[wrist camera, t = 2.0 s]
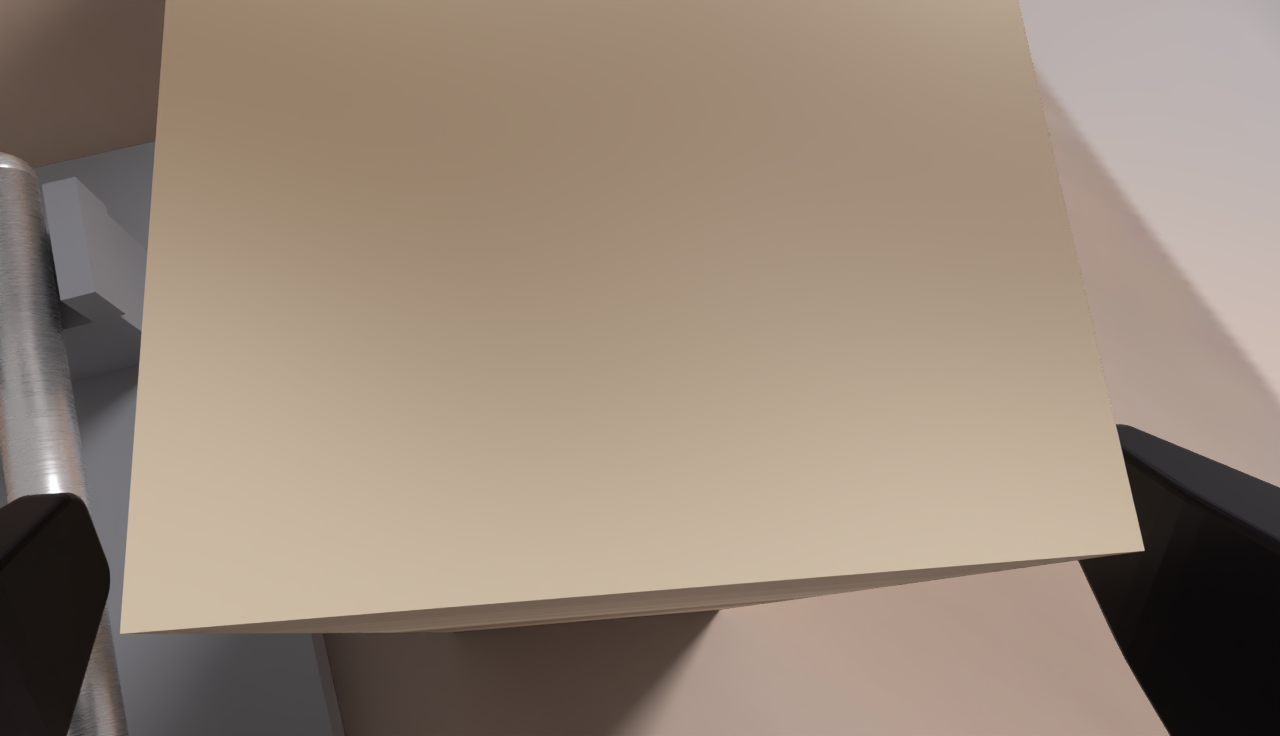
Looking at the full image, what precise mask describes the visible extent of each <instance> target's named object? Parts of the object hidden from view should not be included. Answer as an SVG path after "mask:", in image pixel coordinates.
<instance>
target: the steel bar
mask: <svg viewBox="0 0 1280 736" xmlns="http://www.w3.org/2000/svg"><path fill="white" fill-rule="evenodd" d="M0 450H1V457H2V465H3V472H4V479H5V486H6V493H7V500H8V503H10V502H12V501H13V500H15V499H17V498H19V497H22V496H26V495H34V494H50V493H66V492H69V493H73V494H75V495H77V496H79V497H80V498H81V499H82V500H83V501H84V503H85V505H86V507H87V508H88V511H89V514H90V516H91V519H92V522H93V524H94V519H93V513H92V507H91V501H90V495H89V489H88V483H87V476H86V470H85V464H84V458H83V452H82V446H81V440H80V433H79V427H78V421H77V415H76V409H75V403H74V397H73V390H72V384H71V378H70V372H69V366H68V360H67V354H66V347H65V341H64V335H63V329H62V323H61V317H60V311H59V304H58V298H57V292H56V286H55V280H54V274H53V268H52V261H51V255H50V249H49V243H48V237H47V231H46V224H45V218H44V212H43V206H42V200H41V194H40V188H39V182H38V179H37V176H36V174H35V172H34V170H33V169H32V168H31V167H30V166H29V165H28V164H27V163H26V162H25V161H24V160H22V159H21V158H19V157H17V156H15V155H12V154H9V153H5V152H0ZM94 527H95V526H94ZM67 736H129V735H128V728H127V722H126V716H125V710H124V704H123V698H122V692H121V685H120V679H119V673H118V667H117V661H116V655H115V649H114V642H113V636H112V630H111V624H110V618H109V612H108V606H107V602H106V605H105V609H104V612H103V615H102V619H101V622H100V626H99V629H98V632H97V636H96V639H95V643H94V646H93V650H92V653H91V656H90V660H89V663H88V667H87V670H86V673H85V677H84V680H83V684H82V687H81V691H80V694H79V697H78V701H77V704H76V708H75V711H74V715H73V718H72V721H71V725H70V728H69V731H68V734H67Z"/></svg>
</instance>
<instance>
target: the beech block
mask: <svg viewBox="0 0 1280 736" xmlns="http://www.w3.org/2000/svg"><path fill="white" fill-rule="evenodd" d="M1140 551H1145V549H1144V545H1143V541H1142V536H1141V532H1140V528H1139V523H1138V519H1137V515H1136V510H1135V506H1134V501H1133V497H1132V493H1131V488H1130V484H1129V480H1128V475H1127V471H1126V467H1125V462H1124V458H1123V454H1122V449H1121V445H1120V441H1119V436H1118V432H1117V428H1116V423H1115V419H1114V415H1113V410H1112V406H1111V402H1110V397H1109V393H1108V389H1107V384H1106V380H1105V376H1104V371H1103V367H1102V363H1101V358H1100V354H1099V349H1098V345H1097V341H1096V336H1095V332H1094V328H1093V323H1092V319H1091V315H1090V310H1089V306H1088V302H1087V297H1086V293H1085V289H1084V284H1083V280H1082V276H1081V271H1080V267H1079V263H1078V258H1077V254H1076V250H1075V245H1074V241H1073V237H1072V232H1071V228H1070V224H1069V219H1068V215H1067V210H1066V206H1065V202H1064V197H1063V193H1062V189H1061V184H1060V180H1059V176H1058V171H1057V167H1056V163H1055V158H1054V154H1053V150H1052V145H1051V141H1050V137H1049V132H1048V128H1047V124H1046V119H1045V115H1044V111H1043V106H1042V102H1041V98H1040V93H1039V89H1038V85H1037V80H1036V76H1035V71H1034V67H1033V63H1032V58H1031V54H1030V50H1029V45H1028V41H1027V37H1026V32H1025V28H1024V24H1023V19H1022V15H1021V11H1020V6H1019V3H1018V0H166V2H165V15H164V29H163V43H162V57H161V71H160V85H159V98H158V112H157V126H156V140H155V154H154V168H153V181H152V195H151V209H150V223H149V237H148V251H147V264H146V278H145V292H144V306H143V320H142V334H141V347H140V361H139V375H138V389H137V403H136V417H135V430H134V444H133V458H132V472H131V486H130V500H129V513H128V527H127V541H126V555H125V569H124V583H123V596H122V610H121V624H120V634H218V633H422V632H461V631H473V630H485V629H497V628H509V627H521V626H533V625H545V624H557V623H569V622H580V621H592V620H604V619H616V618H628V617H640V616H652V615H664V614H676V613H688V612H700V611H711V610H722V609H729V608H736V607H744V606H751V605H758V604H765V603H772V602H780V601H787V600H794V599H801V598H808V597H816V596H823V595H830V594H837V593H844V592H852V591H859V590H866V589H873V588H880V587H888V586H895V585H902V584H909V583H916V582H924V581H931V580H938V579H945V578H952V577H960V576H967V575H974V574H981V573H988V572H996V571H1003V570H1010V569H1017V568H1024V567H1032V566H1039V565H1046V564H1053V563H1060V562H1068V561H1075V560H1082V559H1089V558H1096V557H1104V556H1111V555H1118V554H1125V553H1132V552H1140Z"/></svg>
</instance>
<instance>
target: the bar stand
mask: <svg viewBox="0 0 1280 736" xmlns="http://www.w3.org/2000/svg"><path fill="white" fill-rule="evenodd" d="M154 154H155V141H153V142H148V143H144V144H139V145H135V146H130V147H126V148H121V149H117V150H112V151H108V152H103V153H99V154H94V155H90V156H85V157H81V158H76V159H71V160H67V161H62V162H58V163H53V164H49V165H44V166H40V167H35V168H32V169H33V170H34V172H35V174H36V176H37V179H38V182H39V188H40V194H41V200H42V206H43V212H44V218H45V224H46V231H47V237H48V243H49V249H50V255H51V261H52V268H53V274H54V280H55V286H56V292H57V298H58V304H59V311H60V317H61V323H62V329H63V335H64V341H65V347H66V354H67V360H68V366H69V372H70V378H71V384H72V390H73V397H74V403H75V409H76V415H77V421H78V427H79V433H80V440H81V446H82V452H83V458H84V464H85V470H86V476H87V483H88V489H89V495H90V501H91V507H92V513H93V519H94V526H95V530H96V532H97V535H98V537H99V540H100V543H101V545H102V548H103V551H104V553H105V556H106V559H107V561H108V565H109V569H110V590H109V594H108V598H107V606H108V612H109V618H110V624H111V630H112V636H113V642H114V649H115V655H116V661H117V667H118V673H119V679H120V685H121V692H122V698H123V704H124V710H125V716H126V722H127V728H128V735H129V736H345V733H344V729H343V724H342V719H341V715H340V710H339V706H338V701H337V697H336V692H335V688H334V683H333V678H332V674H331V669H330V665H329V660H328V656H327V651H326V647H325V642H324V637H323V633H218V634H120V624H121V610H122V596H123V583H124V569H125V555H126V541H127V527H128V513H129V500H130V486H131V472H132V458H133V444H134V430H135V417H136V403H137V389H138V375H139V361H140V347H141V334H142V320H143V306H144V292H145V278H146V264H147V251H148V237H149V223H150V209H151V195H152V181H153V168H154ZM6 504H8V500H7V493H6V486H5V479H4V472H3V465H2V457H1V450H0V508H1V507H3V506H5V505H6Z"/></svg>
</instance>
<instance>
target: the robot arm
mask: <svg viewBox="0 0 1280 736" xmlns="http://www.w3.org/2000/svg"><path fill="white" fill-rule="evenodd" d="M1116 428H1117V432H1118V436H1119V441H1120V445H1121V449H1122V454H1123V458H1124V462H1125V467H1126V471H1127V475H1128V480H1129V484H1130V488H1131V493H1132V497H1133V501H1134V506H1135V510H1136V515H1137V519H1138V523H1139V528H1140V532H1141V536H1142V541H1143V545H1144V549H1145V551H1140V552H1132V553H1125V554H1118V555H1111V556H1104V557H1096V558H1089V559H1082V560H1078V561H1079V563H1080V566H1081V568H1082V570H1083V572H1084V574H1085V576H1086V578H1087V581H1088V583H1089V585H1090V587H1091V589H1092V591H1093V594H1094V596H1095V598H1096V600H1097V602H1098V604H1099V606H1100V609H1101V611H1102V613H1103V615H1104V617H1105V619H1106V621H1107V624H1108V626H1109V628H1110V630H1111V632H1112V634H1113V636H1114V638H1115V640H1116V642H1117V644H1118V646H1119V648H1120V650H1121V652H1122V654H1123V656H1124V658H1125V660H1126V662H1127V663H1128V665H1129V667H1130V669H1131V671H1132V672H1133V674H1134V676H1135V678H1136V679H1137V681H1138V683H1139V685H1140V686H1141V688H1142V690H1143V691H1144V693H1145V695H1146V696H1147V698H1148V700H1149V701H1150V703H1151V705H1152V706H1153V708H1154V710H1155V711H1156V713H1157V715H1158V716H1159V718H1160V720H1161V721H1162V723H1163V725H1164V726H1165V728H1166V730H1167V731H1168V733H1169V735H1170V736H1280V488H1279V487H1277V486H1274V485H1272V484H1270V483H1267V482H1265V481H1262V480H1260V479H1258V478H1255V477H1253V476H1250V475H1248V474H1245V473H1243V472H1241V471H1238V470H1236V469H1233V468H1231V467H1228V466H1226V465H1224V464H1221V463H1219V462H1216V461H1214V460H1211V459H1209V458H1207V457H1204V456H1202V455H1199V454H1197V453H1194V452H1192V451H1190V450H1187V449H1185V448H1182V447H1180V446H1177V445H1175V444H1173V443H1170V442H1168V441H1165V440H1163V439H1161V438H1158V437H1156V436H1153V435H1151V434H1148V433H1146V432H1144V431H1141V430H1139V429H1136V428H1134V427H1131V426H1128V425H1122V424H1116ZM109 590H110V569H109V565H108V561H107V559H106V556H105V553H104V551H103V548H102V545H101V543H100V540H99V537H98V535H97V532H96V530H95V527H94V524H93V522H92V519H91V516H90V514H89V511H88V508H87V507H86V505H85V503H84V501H83V500H82V499H81V498H80V497H79V496H77V495H75V494H73V493H69V492H66V493H50V494H34V495H26V496H22V497H19V498H17V499H15V500H13V501H12V502H10V503H8V504H6V505H5V506H3V507H1V508H0V736H67V734H68V731H69V728H70V725H71V721H72V718H73V715H74V711H75V708H76V704H77V701H78V697H79V694H80V691H81V687H82V684H83V680H84V677H85V673H86V670H87V667H88V663H89V660H90V656H91V653H92V650H93V646H94V643H95V639H96V636H97V632H98V629H99V626H100V622H101V619H102V615H103V612H104V609H105V605H106V602H107V598H108V594H109Z"/></svg>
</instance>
